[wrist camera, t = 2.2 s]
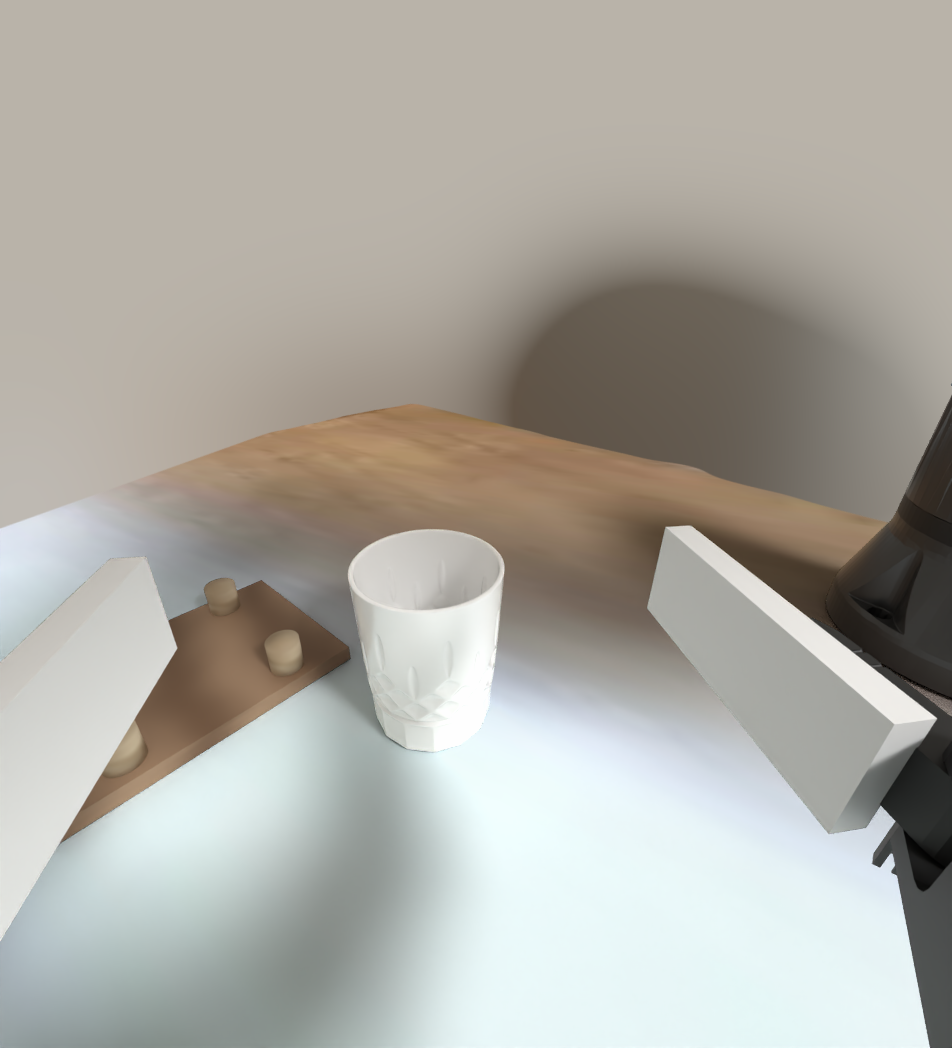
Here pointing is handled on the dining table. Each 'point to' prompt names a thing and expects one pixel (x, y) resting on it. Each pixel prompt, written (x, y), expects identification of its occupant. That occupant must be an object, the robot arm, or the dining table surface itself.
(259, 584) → the holder
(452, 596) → the white cup
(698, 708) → the dining table surface
